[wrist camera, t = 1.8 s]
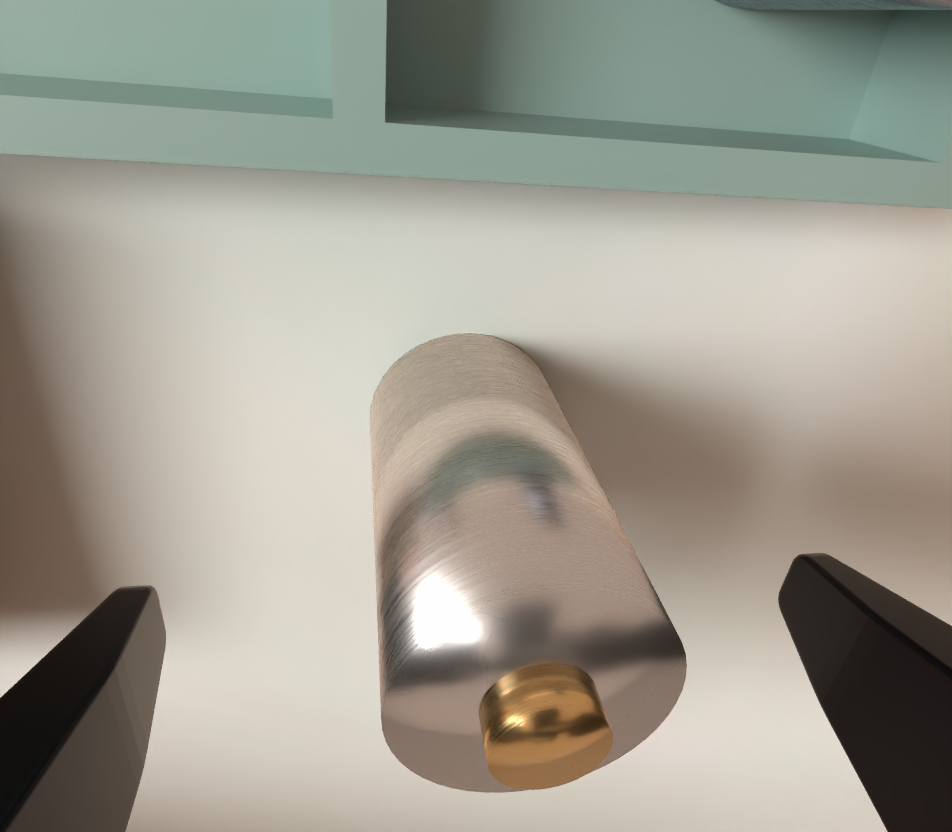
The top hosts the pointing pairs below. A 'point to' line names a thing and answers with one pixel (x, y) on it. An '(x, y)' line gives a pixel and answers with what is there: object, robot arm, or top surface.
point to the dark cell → (839, 4)
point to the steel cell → (504, 581)
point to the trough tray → (495, 92)
